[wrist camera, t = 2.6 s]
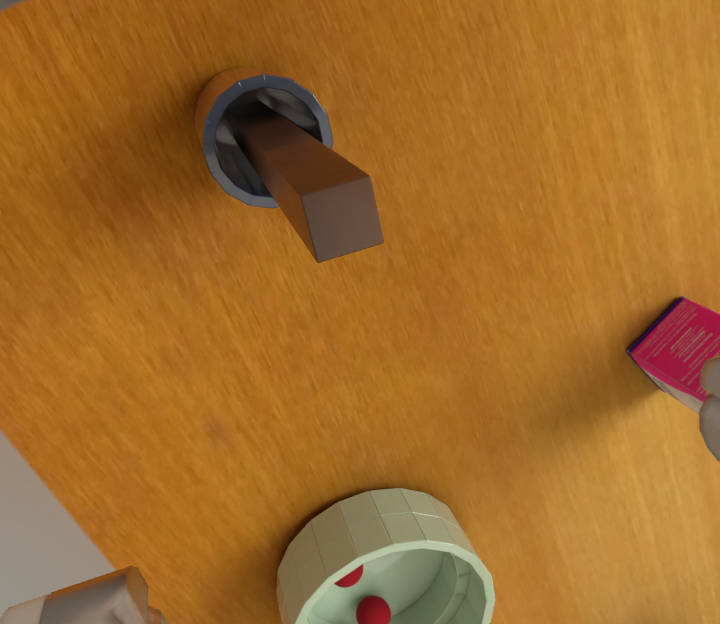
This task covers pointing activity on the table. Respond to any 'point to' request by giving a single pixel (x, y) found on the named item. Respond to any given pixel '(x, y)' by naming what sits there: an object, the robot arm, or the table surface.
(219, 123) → the stick holder
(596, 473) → the table surface
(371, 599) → the berry
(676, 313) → the supplement box
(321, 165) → the stirring stick
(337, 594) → the bowl
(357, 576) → the berry
